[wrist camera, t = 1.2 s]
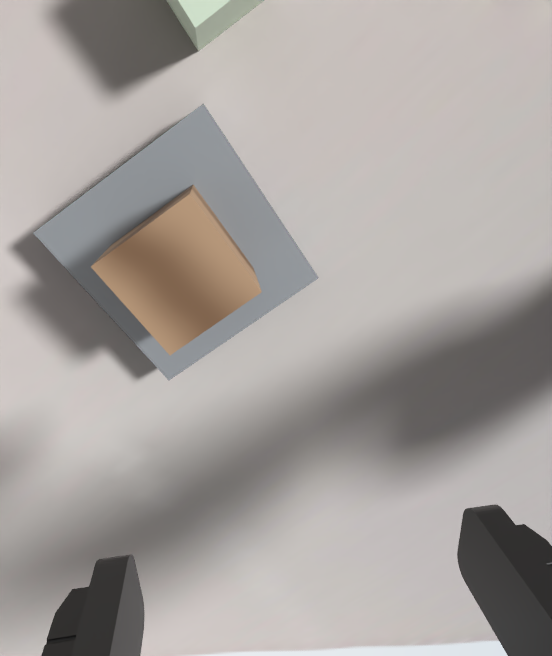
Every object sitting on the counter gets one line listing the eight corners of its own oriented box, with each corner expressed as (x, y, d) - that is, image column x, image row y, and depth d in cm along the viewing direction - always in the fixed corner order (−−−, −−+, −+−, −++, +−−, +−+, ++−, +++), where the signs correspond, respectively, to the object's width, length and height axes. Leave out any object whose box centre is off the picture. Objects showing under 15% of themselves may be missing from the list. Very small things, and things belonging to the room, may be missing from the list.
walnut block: (193, 184, 26) (189, 193, 22) (253, 267, 28) (261, 292, 24) (111, 245, 27) (90, 266, 22) (176, 321, 29) (169, 355, 25)
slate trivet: (203, 107, 27) (203, 103, 25) (309, 266, 32) (318, 277, 29) (49, 224, 29) (32, 232, 26) (172, 360, 33) (168, 380, 31)
